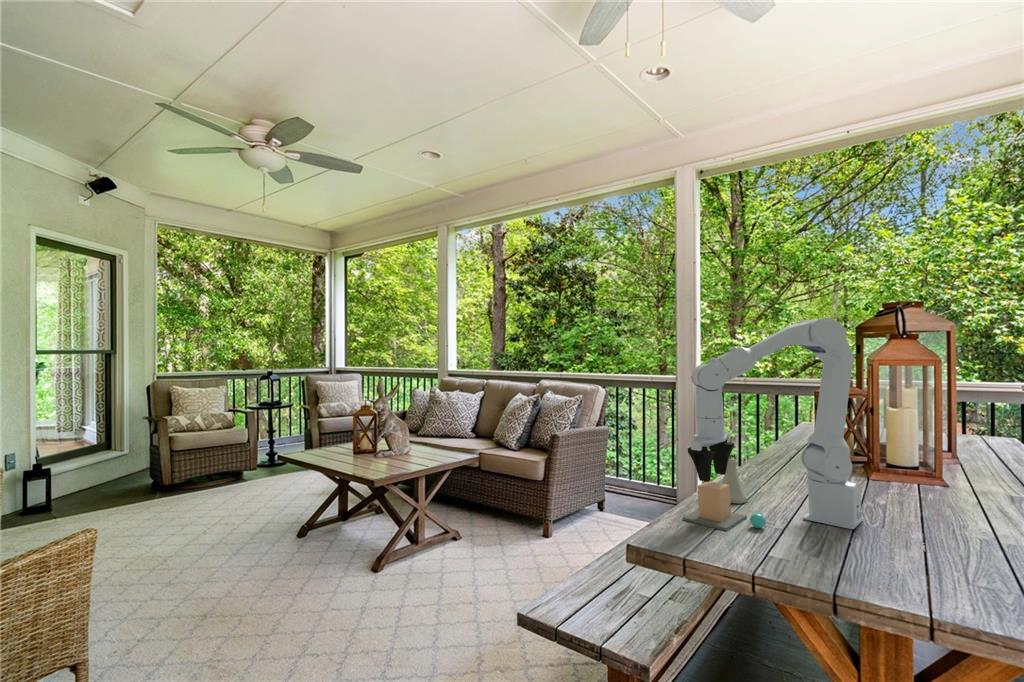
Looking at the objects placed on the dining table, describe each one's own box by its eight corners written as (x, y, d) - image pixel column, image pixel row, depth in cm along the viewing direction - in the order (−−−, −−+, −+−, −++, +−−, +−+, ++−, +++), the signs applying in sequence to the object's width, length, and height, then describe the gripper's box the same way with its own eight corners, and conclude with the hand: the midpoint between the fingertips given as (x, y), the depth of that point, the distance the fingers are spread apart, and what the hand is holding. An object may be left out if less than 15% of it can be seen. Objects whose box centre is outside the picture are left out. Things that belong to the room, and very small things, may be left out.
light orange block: (731, 516, 108) (729, 484, 109) (721, 522, 105) (719, 489, 105) (709, 511, 112) (707, 481, 112) (699, 516, 109) (697, 485, 109)
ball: (768, 527, 102) (767, 513, 103) (762, 531, 100) (762, 517, 101) (753, 524, 105) (753, 510, 105) (747, 528, 103) (747, 513, 103)
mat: (746, 518, 108) (746, 515, 108) (726, 530, 102) (726, 528, 102) (703, 508, 116) (703, 506, 116) (682, 519, 109) (682, 517, 109)
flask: (744, 506, 116) (742, 464, 117) (713, 501, 121) (711, 461, 121) (751, 498, 122) (749, 458, 122) (721, 494, 127) (719, 455, 127)
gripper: (707, 412, 117) (710, 468, 117) (676, 419, 107) (679, 480, 107) (737, 414, 112) (740, 473, 111) (707, 422, 102) (710, 486, 102)
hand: (712, 477), depth 109 cm, fingers open, 7 cm apart
